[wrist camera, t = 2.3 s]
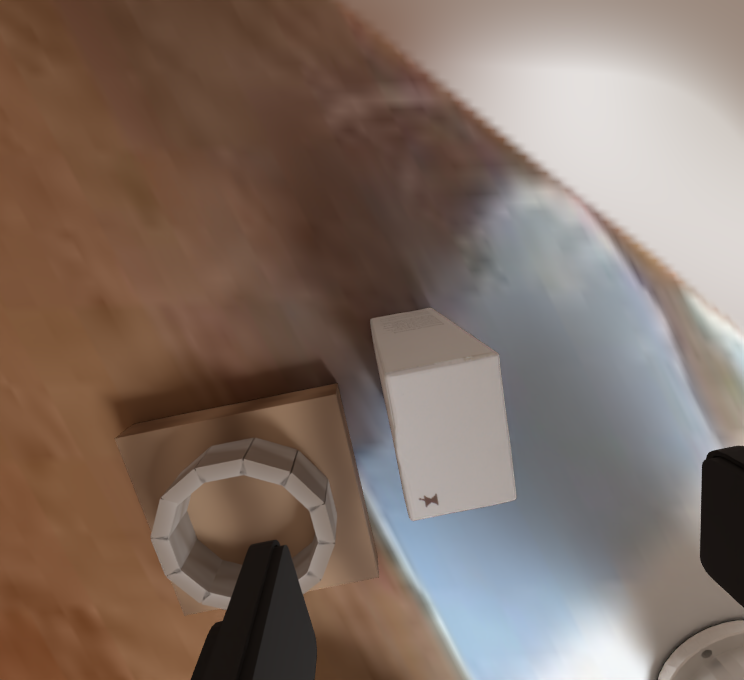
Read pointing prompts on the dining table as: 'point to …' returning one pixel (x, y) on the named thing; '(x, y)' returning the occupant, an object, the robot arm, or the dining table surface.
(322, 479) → the ring stand
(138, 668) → the dining table surface
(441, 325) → the skincare box
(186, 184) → the dining table surface
